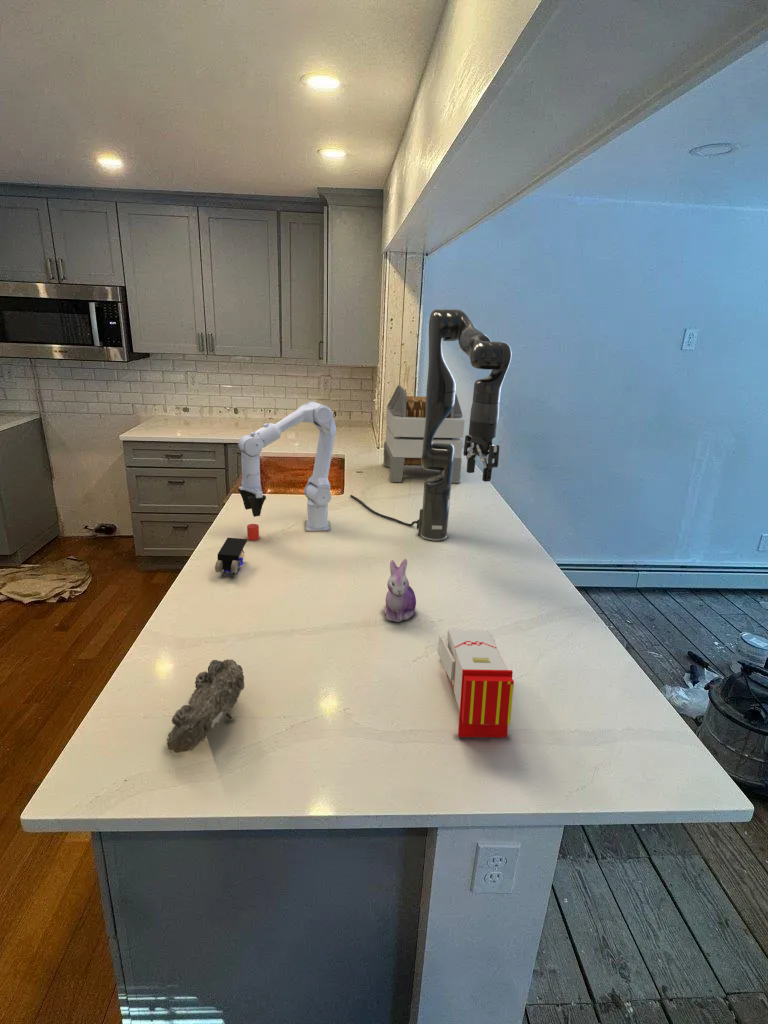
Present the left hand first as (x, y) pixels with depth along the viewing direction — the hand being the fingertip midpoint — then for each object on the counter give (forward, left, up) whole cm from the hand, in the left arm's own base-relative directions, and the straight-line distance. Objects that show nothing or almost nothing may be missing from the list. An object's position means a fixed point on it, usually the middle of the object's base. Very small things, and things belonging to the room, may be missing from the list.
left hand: (252, 512), depth 187 cm
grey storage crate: (-78, +74, -9) cm, 108 cm away
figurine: (+53, +40, -9) cm, 68 cm away
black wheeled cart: (+24, -5, -9) cm, 26 cm away
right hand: (+35, +64, +22) cm, 76 cm away
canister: (0, 0, -9) cm, 9 cm away
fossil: (+88, -2, -9) cm, 89 cm away
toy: (+86, +49, -9) cm, 100 cm away
